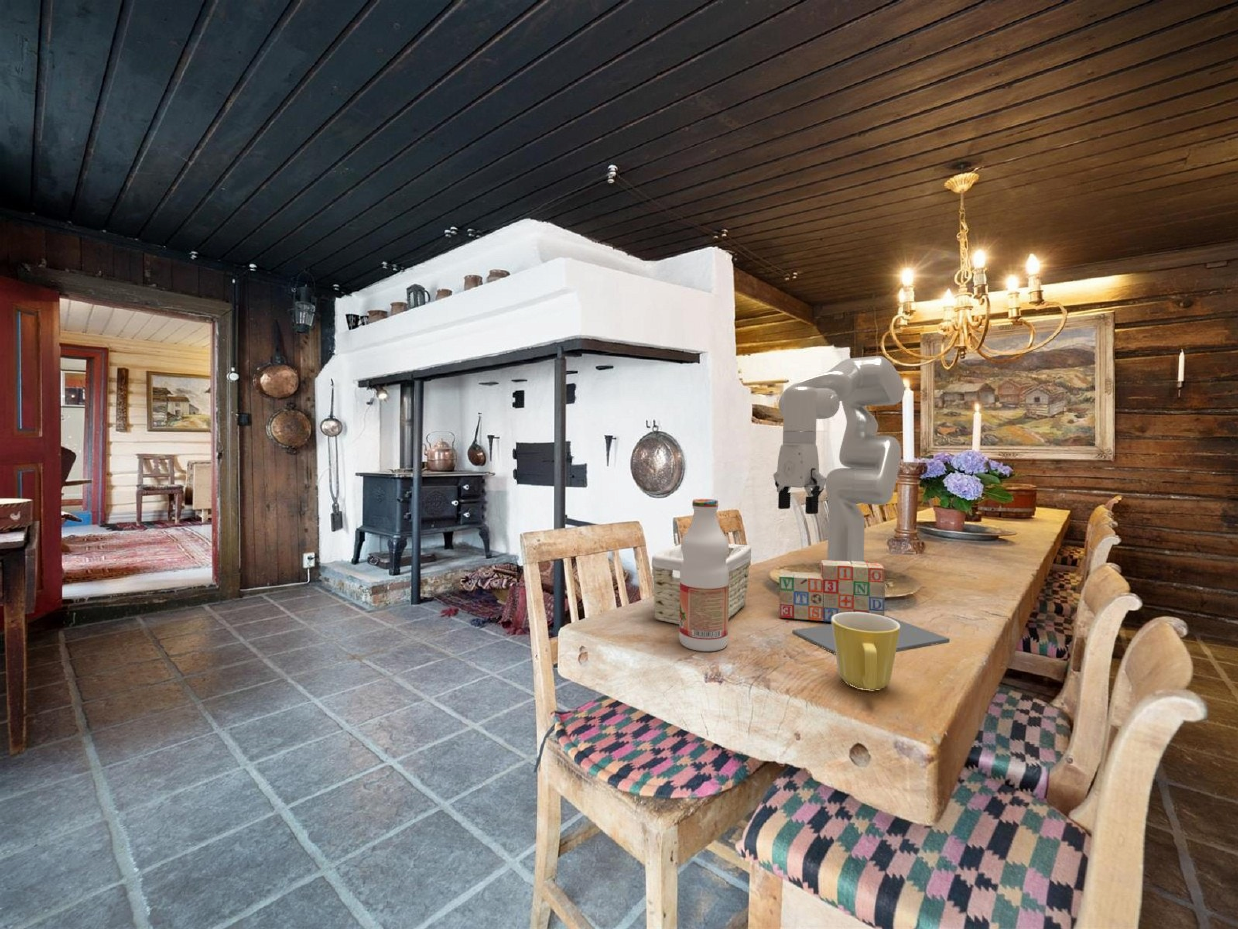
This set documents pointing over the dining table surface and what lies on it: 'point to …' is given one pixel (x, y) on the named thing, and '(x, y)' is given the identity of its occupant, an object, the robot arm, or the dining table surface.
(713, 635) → the fruit juice
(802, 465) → the robot arm
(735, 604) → the storage basket
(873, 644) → the mug
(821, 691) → the dining table surface
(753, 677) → the dining table surface
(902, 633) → the rubber mat
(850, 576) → the stack of blocks
